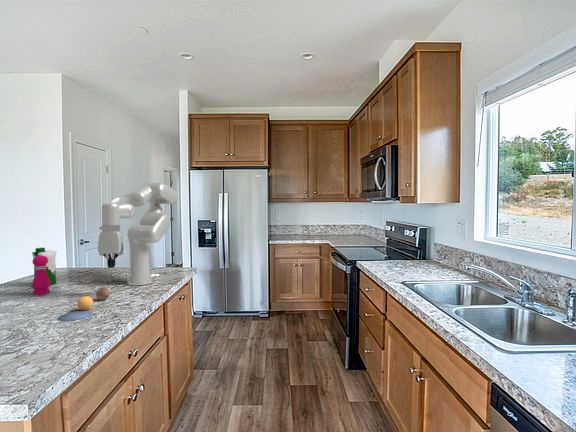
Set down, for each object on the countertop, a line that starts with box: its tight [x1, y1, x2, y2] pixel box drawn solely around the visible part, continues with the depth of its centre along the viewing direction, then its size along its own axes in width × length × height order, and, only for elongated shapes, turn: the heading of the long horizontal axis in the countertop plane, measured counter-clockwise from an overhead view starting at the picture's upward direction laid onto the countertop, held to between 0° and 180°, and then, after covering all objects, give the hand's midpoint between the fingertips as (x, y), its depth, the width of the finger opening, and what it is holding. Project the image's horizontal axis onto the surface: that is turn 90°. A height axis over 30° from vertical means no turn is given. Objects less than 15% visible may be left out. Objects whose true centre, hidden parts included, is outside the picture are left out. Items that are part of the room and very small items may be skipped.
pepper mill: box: [31, 252, 51, 296], centre depth 156 cm, size 7×7×20 cm
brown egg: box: [95, 287, 111, 301], centre depth 146 cm, size 6×6×6 cm
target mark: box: [57, 310, 93, 322], centre depth 125 cm, size 11×11×1 cm
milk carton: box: [31, 247, 57, 286], centre depth 173 cm, size 9×9×20 cm
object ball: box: [76, 295, 94, 311], centre depth 132 cm, size 6×6×6 cm
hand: (111, 267), depth 154 cm, fingers closed
